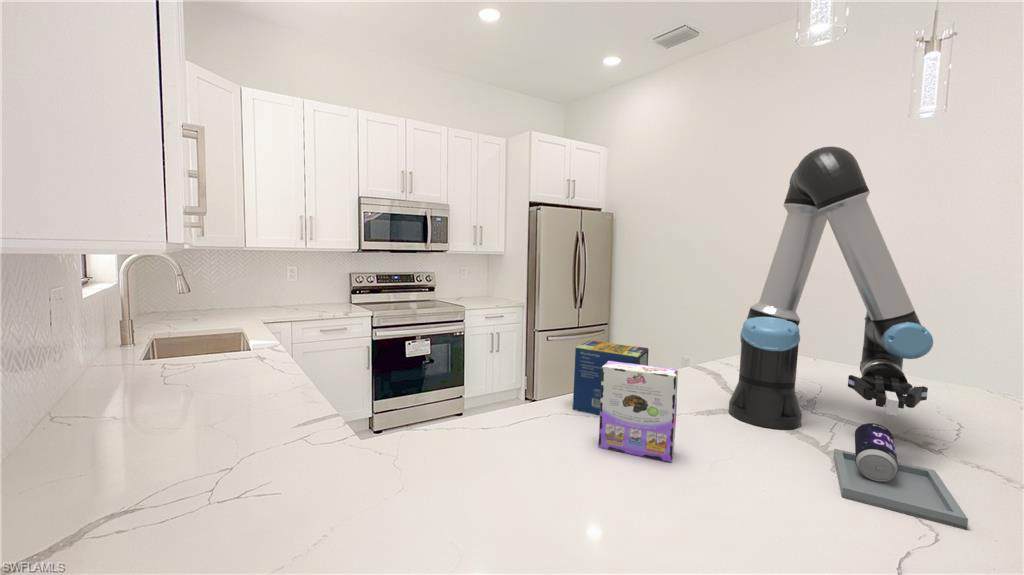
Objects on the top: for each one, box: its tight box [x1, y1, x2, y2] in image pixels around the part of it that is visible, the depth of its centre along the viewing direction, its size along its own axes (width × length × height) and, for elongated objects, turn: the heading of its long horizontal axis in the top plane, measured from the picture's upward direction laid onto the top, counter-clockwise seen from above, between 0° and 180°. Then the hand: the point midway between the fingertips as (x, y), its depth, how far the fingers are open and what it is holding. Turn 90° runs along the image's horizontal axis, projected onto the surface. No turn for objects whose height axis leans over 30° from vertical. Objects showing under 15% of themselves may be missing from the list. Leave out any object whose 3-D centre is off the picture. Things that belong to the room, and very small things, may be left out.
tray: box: [833, 448, 969, 530], centre depth 74 cm, size 14×17×2 cm
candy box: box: [597, 361, 679, 463], centre depth 85 cm, size 14×6×16 cm, turn 65°
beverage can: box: [854, 422, 898, 482], centre depth 79 cm, size 6×6×12 cm
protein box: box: [572, 340, 650, 416], centre depth 107 cm, size 10×15×16 cm
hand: (892, 407), depth 79 cm, fingers closed
